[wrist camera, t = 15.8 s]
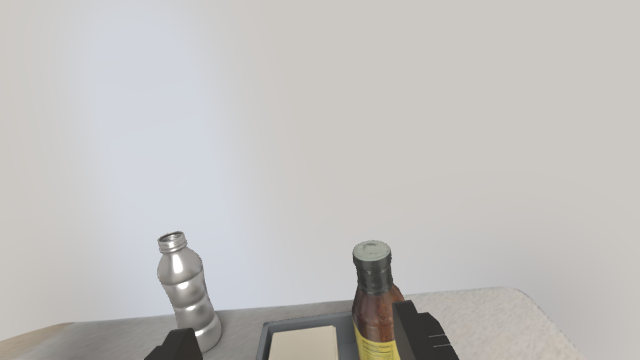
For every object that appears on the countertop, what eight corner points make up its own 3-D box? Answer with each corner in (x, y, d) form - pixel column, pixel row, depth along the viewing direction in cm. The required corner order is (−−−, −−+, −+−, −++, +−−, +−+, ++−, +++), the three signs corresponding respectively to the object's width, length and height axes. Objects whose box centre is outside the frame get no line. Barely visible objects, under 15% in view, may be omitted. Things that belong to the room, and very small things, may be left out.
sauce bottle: (381, 355, 42) (368, 227, 36) (423, 382, 38) (415, 240, 32) (352, 390, 38) (331, 252, 32) (395, 425, 33) (380, 271, 28)
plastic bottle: (202, 365, 46) (164, 250, 40) (175, 351, 49) (136, 244, 44) (232, 334, 51) (203, 229, 46) (206, 324, 55) (175, 225, 49)
